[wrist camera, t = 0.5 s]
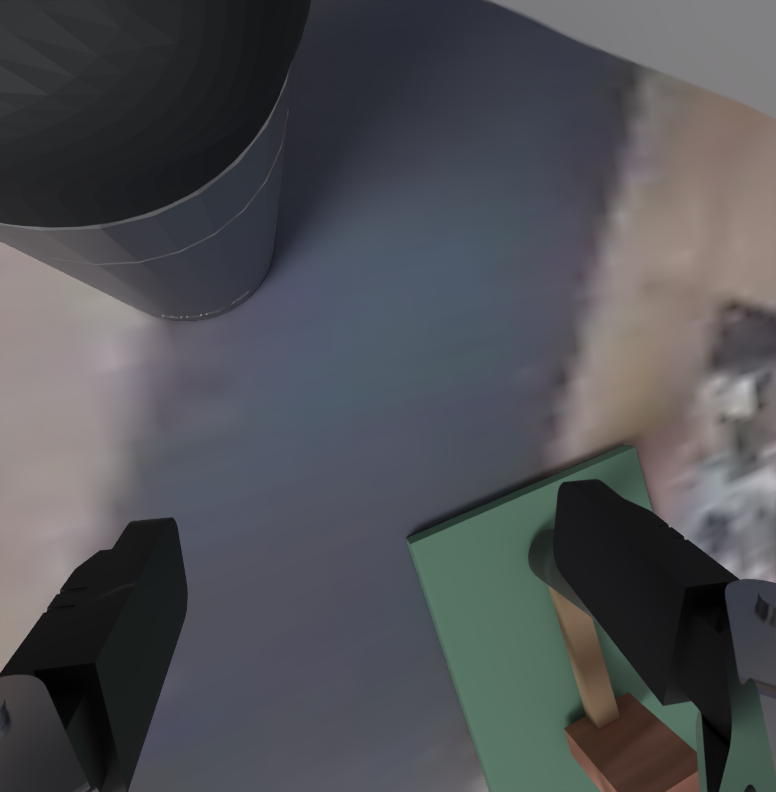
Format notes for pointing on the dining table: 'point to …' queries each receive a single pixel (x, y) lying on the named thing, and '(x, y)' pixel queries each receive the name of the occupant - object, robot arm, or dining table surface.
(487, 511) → the board
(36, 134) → the robot arm
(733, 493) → the dining table surface
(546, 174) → the dining table surface
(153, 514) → the dining table surface
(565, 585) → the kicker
